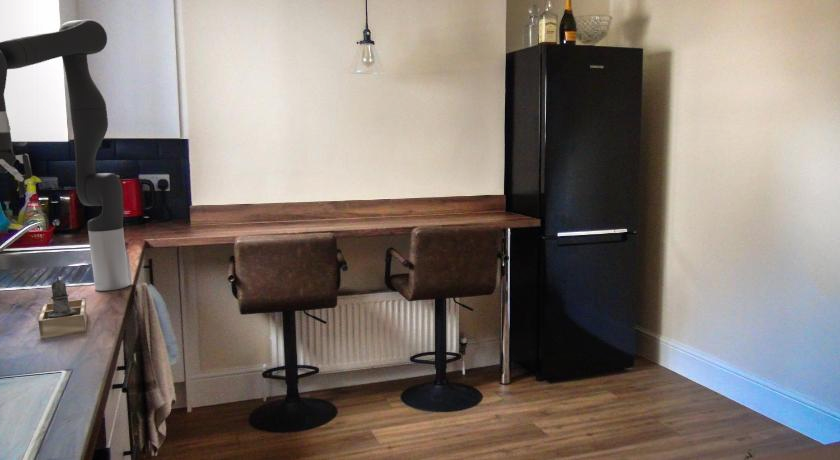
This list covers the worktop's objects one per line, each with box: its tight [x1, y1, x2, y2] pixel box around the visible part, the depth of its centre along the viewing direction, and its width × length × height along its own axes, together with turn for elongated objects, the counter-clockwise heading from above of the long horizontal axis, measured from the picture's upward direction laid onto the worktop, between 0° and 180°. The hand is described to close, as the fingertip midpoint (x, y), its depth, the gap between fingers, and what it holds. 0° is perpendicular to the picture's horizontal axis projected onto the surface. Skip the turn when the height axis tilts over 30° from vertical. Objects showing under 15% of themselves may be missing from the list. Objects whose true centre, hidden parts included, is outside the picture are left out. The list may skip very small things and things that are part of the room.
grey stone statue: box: [48, 276, 76, 319], centre depth 156 cm, size 6×6×12 cm
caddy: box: [38, 298, 88, 339], centre depth 160 cm, size 17×9×4 cm, turn 25°
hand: (1, 198), depth 167 cm, fingers open, 8 cm apart
